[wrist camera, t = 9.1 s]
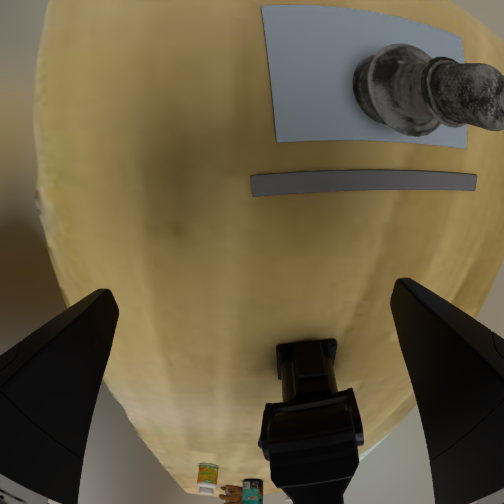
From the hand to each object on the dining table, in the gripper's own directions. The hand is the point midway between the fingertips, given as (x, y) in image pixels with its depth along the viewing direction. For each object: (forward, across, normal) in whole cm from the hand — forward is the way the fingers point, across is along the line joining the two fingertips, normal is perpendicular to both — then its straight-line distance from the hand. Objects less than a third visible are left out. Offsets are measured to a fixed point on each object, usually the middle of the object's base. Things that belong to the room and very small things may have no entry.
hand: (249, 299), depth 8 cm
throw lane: (+13, -9, -6) cm, 17 cm away
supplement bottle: (+14, +18, +75) cm, 78 cm away
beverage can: (+14, +6, +99) cm, 100 cm away
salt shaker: (+12, -9, -7) cm, 17 cm away
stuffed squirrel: (+15, +15, +122) cm, 124 cm away
